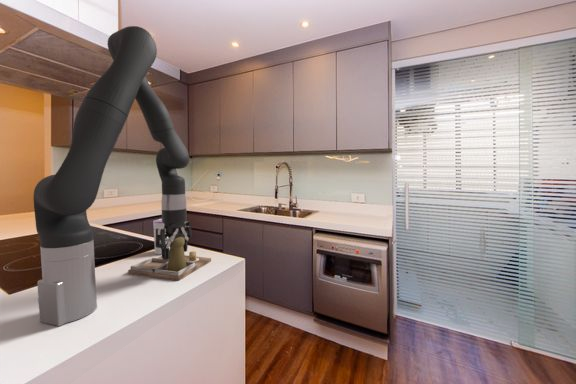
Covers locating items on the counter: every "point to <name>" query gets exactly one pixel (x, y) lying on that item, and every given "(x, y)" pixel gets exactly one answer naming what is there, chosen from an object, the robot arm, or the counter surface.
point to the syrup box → (156, 225)
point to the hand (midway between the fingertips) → (175, 255)
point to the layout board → (160, 266)
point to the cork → (177, 255)
